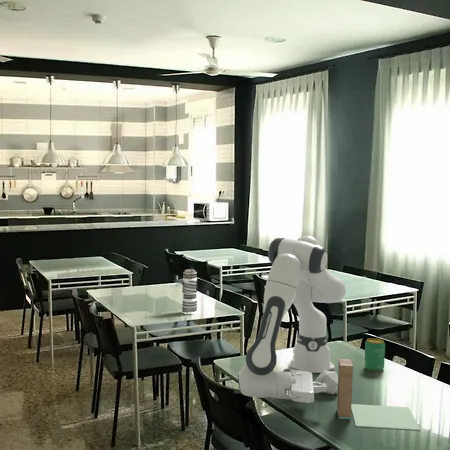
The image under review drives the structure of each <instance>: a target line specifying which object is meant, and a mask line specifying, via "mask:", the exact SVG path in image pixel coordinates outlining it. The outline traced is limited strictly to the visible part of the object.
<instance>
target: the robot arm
mask: <svg viewBox="0 0 450 450" xmlns="http://www.w3.org/2000/svg"><path fill="white" fill-rule="evenodd" d="M267 258H268V261H269V262H270V264H272V265H271V267H270V270H269V272H268V276H267V280H266V284H265V286H264V294H263V315H262V320H261V323H260V326H259V330H258V333H257V337H256V339H255V342H254V343H253V344H252V345H251V346H250V348H249V349H248V350H247V352H246V356H245V362H244V364H243V366H242V368H241V369H240V371H239V372H238V374H237V383H238V385H237V386H238V389H239V391H240V393H241V394H242V395H244V396H247V397H250V398H251V397H253V398H261V399H263V398H264V399H265V398H272V399H280V400H281V399H282V400H291V401H293V402H298V403H307V404H311V403H314V401H315V394H318V393H321V392H327V384H323V383H319V382H316V381H313V374H316V373H317V374H318V373H319V374H320V373H321V372H322V371H323V370H327V371H333V370H335V365H334V364H333V363H332V362H331V349H330V348H329V346H328V338H327V337H328V335H327V316H326V315H325V313H324V312H322V311H321V310H319V309H318V308H317V307H315V306H314V304H313V303H322V304H323V303H325V304H333V303H341V301H342V300H344V298H345V296H346V292H347V291H346V290H347V288H346V284H345V282H344V281H343V280H342V279H341V278H339V277H338V276H335V275H334V274H332V272H330V271H329V270H328V269H327V268H326V266H327V264H328V252H327V250H326V248H325V247H324V246H321V245H320V244H319V241H318V240H317V238H315V237H313V236H311V235H302V236H299V238H297V239H292V238H291V239H287V238H284V237H277V238H274V239H273V240H272V241H271V242H270V244H269V246H268V251H267ZM292 305H294V307H295V309H296V312H297V314H298V325H299V326H298V327H299V328H298V329H299V330H298V331H299V332H298V333H297V344H296V345H295V347H293V349H292V350H293V351H292V353H293V356H292V359H291V360H290V362H289V364H288V367H289V368H284V369H283V370H281V371H275V368H276V366H277V359H278V357H277V352H276V343H277V339H278V334H279V332H280V328H281V325H282V321H283V319H284V318H285V317H284V316H285V315H286V314H287V312H288V311H289V310H290V308H291V307H292ZM291 368H292V369H291ZM294 369H295V370H294Z"/></svg>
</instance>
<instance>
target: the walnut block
mask: <svg viewBox="0 0 450 450" xmlns="http://www.w3.org/2000/svg"><path fill="white" fill-rule="evenodd" d="M353 365H354V364H353V362H352V359H348V358H347V359H345V358H339V359H338V372H337V375H338V389H337V402H336V412H337V416H338V419H340V420H341V419H342V420H343V419H344V420H352V410H351V406H352V404H353V403H352V402H353V401H352V399H353V375H354V374H353V373H354V366H353Z"/></svg>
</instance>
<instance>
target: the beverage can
mask: <svg viewBox="0 0 450 450" xmlns="http://www.w3.org/2000/svg"><path fill="white" fill-rule="evenodd" d="M385 353H386V344H385V342H384V340H383V339H380V338H373V337H372V338H367V339H366V340H365V342H364V363H363V364H364V366H363V367H365V370H367V371H369V372H383V370H384V369H385V355H386V354H385Z"/></svg>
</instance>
